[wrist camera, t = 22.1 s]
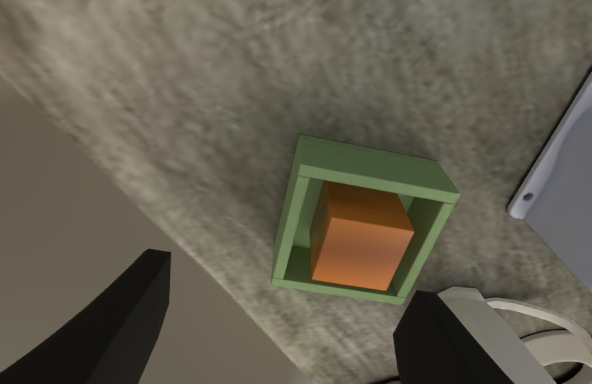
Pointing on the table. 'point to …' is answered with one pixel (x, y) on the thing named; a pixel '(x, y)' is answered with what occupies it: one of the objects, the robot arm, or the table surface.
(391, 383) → the stone ring
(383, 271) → the block
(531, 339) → the ring
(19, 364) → the robot arm
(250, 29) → the table surface
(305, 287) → the bin
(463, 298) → the cup
